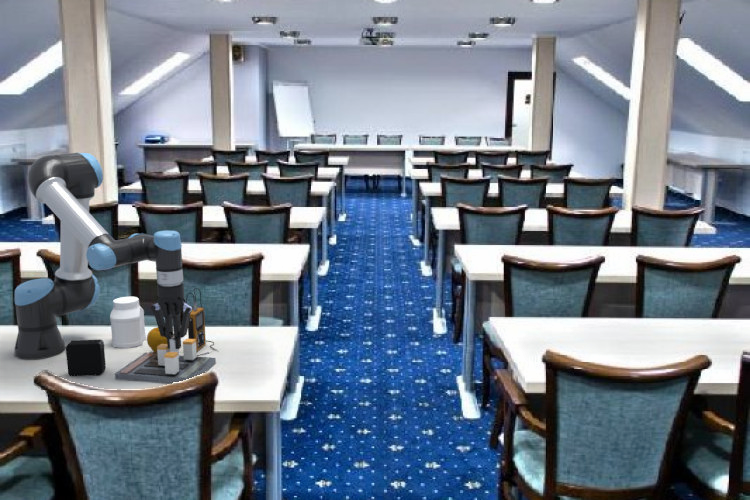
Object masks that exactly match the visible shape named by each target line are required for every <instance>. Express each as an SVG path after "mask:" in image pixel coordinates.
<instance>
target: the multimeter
mask: <svg viewBox="0 0 750 500" xmlns="http://www.w3.org/2000/svg"><path fill="white" fill-rule="evenodd" d="M195 290H198V291H199V297H200V298H199V299H200V300H199V302H200V307H198V306H197V298H196V297H197V296H196V291H195ZM201 293H202V291H201V290H200V288H197V287H195V288H194V289H193V293H192V292H189V293H187V295H186V299H185V301H186V304H187V305H188V296H189V294H191V295H192V296H193V298H194V300H193V310H192V311H191V313H190V319H189V324H188V330H187V334H188V335H187V336H188V337H187V339H196V352H199V350H201V349H202V348H203V347H205V346H206V342H210V343H212V344H210V345H209V347H210V348H211V349H212V351H206V352H203V353H200V354H197V357H201V356H205V355H207V354H210V353H213V352H215V351H216V352H218V353H219V352H220V351H219V350H218V349H217V348H215V347H212V346H214V345H215V342H214V341H212V340H211V341H209V340H206V339H207V338H206V327H205V326H206V324H205V322H206V321H205V308H204V307H202V294H201Z"/></svg>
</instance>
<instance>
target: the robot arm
mask: <svg viewBox="0 0 750 500" xmlns="http://www.w3.org/2000/svg"><path fill="white" fill-rule="evenodd" d="M27 173H28V174H27V184H28V188H29V190H30V192H31V195H33V197H34V198H35V199H36V200H37V201H38V202H39V203H41V204H43V205H45V204H46V206H47V207H48V208H49V209H50V210H51V211H52V213H53V214H55V216H56V217H57V218H58V219H59V220H60V242H59V243H60V245H59V246H60V247H59V248H60V251H59V252H60V254H59V255H60V256H59V257H60V259H59V268H57V270H56V271H55V272H54V280H52V279H51V278H46V277H41V278H37V279H36V278H34V279H30V280H27V281H25V282H22V283H20V284H19V285H17V286H16V288H15V289H14V304H15V305H14V306H15V313H16V321H17V330H18V334H17V337H16V341H15V346H14V356H15V357H16V358H18V359H22V360H40V359H45V358H51V357H54V356H57V355H60V354H61V353H63V352H64V351H66V342H65V340H64V338H63V336H62V333H61V331H60V329H59V328H58V322H57V317H59V316H64V315H67V314H71V313H75V312H78V311H83V310H86V309H88V308H91V307H93V306H94V305H95V304H96V303H97V302H98V299H99V297H100V290H101V289H100V284H99V283H98V282H99V281H98V279H97V277H96V276H95V275H94V274H93V271H92V270H91V269H93V270H94V271H103V270H110V269H111V270H112V268H117V267H122V266H126V265H130V264H135V263H138V262H139V263H140V262H145V261H147V262H155V271H156V283H157V287H156V288H157V296H158V299H157V301H156V302H157V303H154V304H152V305H151V306H150V307H149V308H150V309H151V311H152V312H153V314H154V318H155V321H156V325H157V327H158V328H159V332H160V335H161V336H162V337H163V336H164V337H166V338H167V347H168V349H170V352H178V358H179V355H180V349H181V348H182V339H183V338H184V337H185V336H188V335H187V334H188V324H189V319H190V313H191V311H192V310H193V309H194V305H189V304H188V303H187V304H186V299H185V288H184V287H185V286H184V283H183V282H184V273H183V257H182V256H183V255H182V254H183V253H182V251H183V250H182V247H183V246H182V245H183V244H182V241H181V234H180V233H179V232H178V231H176V230H168V229H167V230H159V231H156V232H155V233H154V235H150V234H148V233H147V234H146V233H143V232H141V233H133V234H131V235H129V237H126V238H122V239H117V240H115V239H114V238H113V237H112V235H110V233H108V231H107V230H106V229H105V228H104V227H103V226H102V225H101V224H100V223H99V222H98V221H97V219H96V218H94V216H93V215H92V214H91V213H90V200H92V199H93V198H94V197H95V194H96V191H95V189H97V188H99V187H100V186H101V185H102V184H103V180H104V174H103V173H104V172H103V169H102V166H101V164H100V162H99V160H98V159H97V158H96V156H94V155H93V154H91V153H88V152H73V153H63V154H54V155H53V154H49V155H45V156H41V157H39V158H37V159H36V160H35V161H34V162H33V163H32V164H31V165H30V167H29V169H28V171H27ZM88 266H90V268H91V269H89V267H88ZM182 310H183V314H182V313H181V311H182ZM181 314H182V319H181ZM173 336H174V337H173Z"/></svg>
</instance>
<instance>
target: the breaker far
mask: <svg viewBox="0 0 750 500" xmlns="http://www.w3.org/2000/svg"><path fill="white" fill-rule="evenodd" d="M182 352H183V356H184V360H194V359H195V358H196V357H198V356H197V355H198V354H197V353H198V351H196V339H189V338H186V339H184V340H183V341H182Z"/></svg>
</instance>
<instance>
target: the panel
mask: <svg viewBox="0 0 750 500" xmlns="http://www.w3.org/2000/svg"><path fill="white" fill-rule="evenodd" d="M178 359H179V372H177V373H176V374H166V373H165V366H163V365H158V354H156V353H155V352H144V353H143V354H141V355H139V356H138V357H137V358H135V359H134V360H132V361H131V362H130V363H128V364H126V365H125V366H124V367H122V368H120V369H119V370H118V371H116V372H115V373H114V380H121V381H134V382H145V383H146V382H148V383H156V384H157V383H159V384H169V383H173V382H179V381H183V380H186V379H189V378H192V377H194V376H197V375H200V374H202V373H204V374H206V372H208V371H209V370H210V369H211V368H212V367H213V366H215V365H216V364H217V362H216V361H217V360H216V357H210V356H197V357H196V358H195V359H194V360H184V355H180V354H179V358H178ZM205 371H206V372H205Z"/></svg>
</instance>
